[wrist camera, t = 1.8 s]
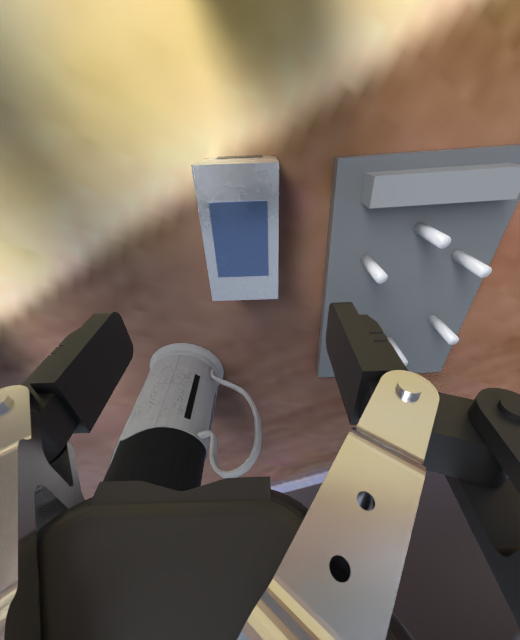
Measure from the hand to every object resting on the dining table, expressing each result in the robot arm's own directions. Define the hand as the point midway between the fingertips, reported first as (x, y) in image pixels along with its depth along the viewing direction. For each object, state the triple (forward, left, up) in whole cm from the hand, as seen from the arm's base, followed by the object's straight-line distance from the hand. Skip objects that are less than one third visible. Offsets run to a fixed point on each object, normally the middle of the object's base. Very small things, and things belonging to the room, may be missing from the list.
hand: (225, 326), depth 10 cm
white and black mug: (+16, -6, -15) cm, 22 cm away
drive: (0, 0, -15) cm, 15 cm away
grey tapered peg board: (+7, +14, -15) cm, 21 cm away
